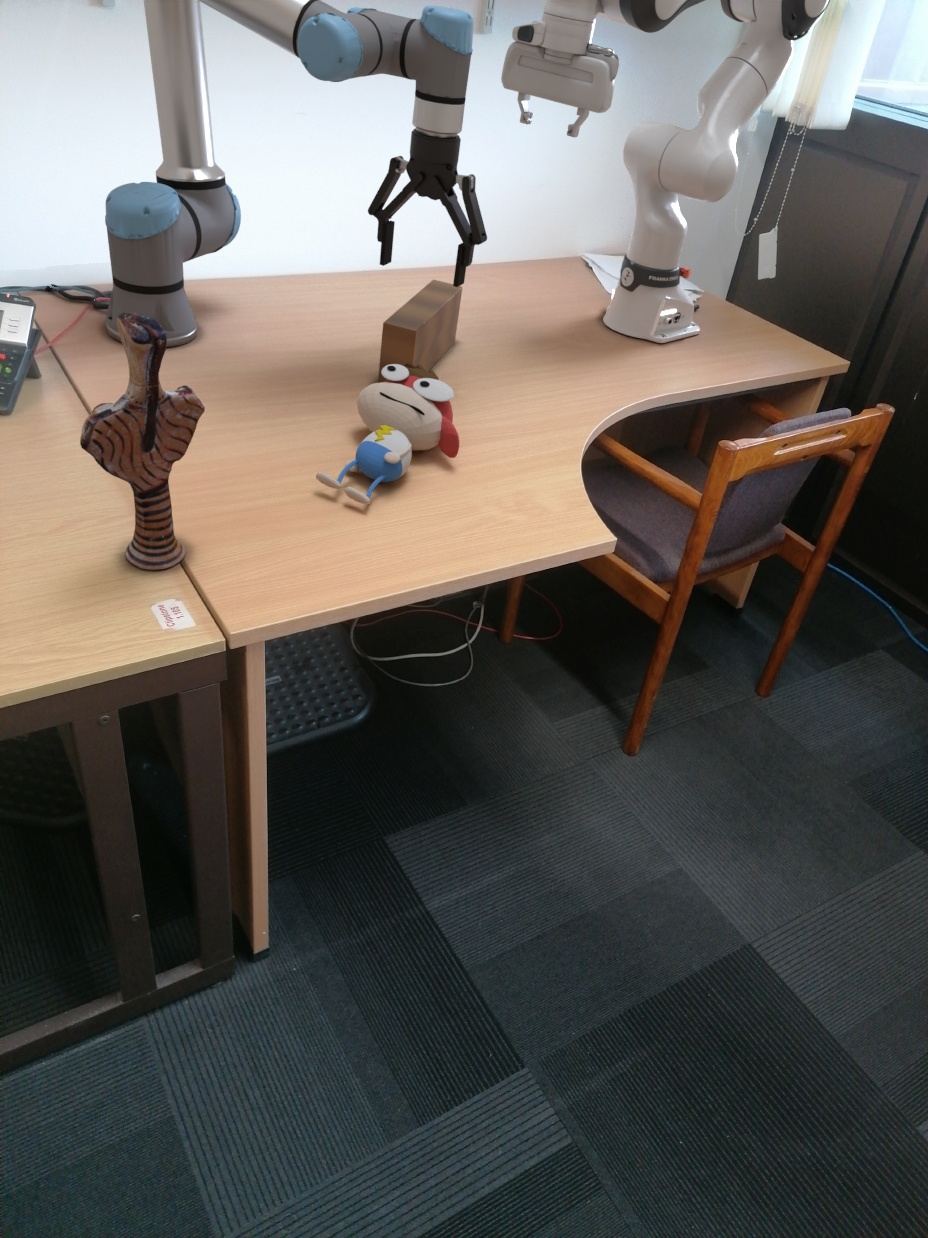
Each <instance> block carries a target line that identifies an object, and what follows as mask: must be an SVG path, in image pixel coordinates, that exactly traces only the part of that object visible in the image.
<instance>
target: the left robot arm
mask: <svg viewBox="0 0 928 1238" xmlns="http://www.w3.org/2000/svg"><path fill="white" fill-rule="evenodd" d="M201 3H202V4H204V5H206V6H208V7H209V8H210V9H213V10H214V11H216V12H218V13H219V14H221V15H224V16H225V17H227V18H228V19H230V20H232V21H234V22H235V23H237V24H239V25H241V26H243V27H244V28H246V29H248V30H249V31H251V32H253V33H254V34H256V35H258V36H260V37H262V38H263V39H265V40H266V41H269V42H270V43H272V44H273V45H276V46H277V47H278V48H280V49H282V50H284V51H286V52H288V53H289V54H291V55H293V56H295V57H296V58H298V59H299V60H300V62H301V64H302V65H303V67H304V68H305V70H306V71H307V73H308V74H309V75H310V76H311V77H313V78H314V79H316V80H318V81H323V82H331V83H340V82H344V81H347V80H351V79H355V78H363V77H369V76H375V75H381V74H382V75H388V76H394V77H398V78H402V79H407V80H410V81H412V80H413V81H415V90H414V104H413V110H412V111H413V113H412V120H411V121H412V122H411V124H412V126H413V127H414V128H413V129H412V130H411V134H410V135H411V136H410V145H409V160H406V159H405V158H404V156H402V155H397V156H394V157H391V158H390V159H389V165H388V170H387V173H386V175H385V177H384V179H383V180H382V183H381V185H380V186H379V188H378V190H377V191H376V194H375V196H374V198H373V199H372V201H371V203H370V205H369V206H368V209H367V213H368V214H369V216H373V217H374V218H376V220H377V235H376V239H377V242H379V243H380V255H379V265H380V266H387V265H388V264H390V263H392V260H393V259H392V258H393V246H394V234H395V224H396V223H395V222H396V221H394V220H391V219H392V218H393V216H394V215H395V214H396V213H397V212H399V210H400V209H401V208H402V207H403V206H404V205H405V204H406V203H407V202H408V201H409V200H410V199H411V198H412V197H413V196H415V194H417V196H418V197H420V198H421V197H422V198H428V199H430V200H433V201H438V200H439V201H440V203H441V205H442V206H443V207H445V210H446V211H447V214H448V216H449V218H450V220H451V222H452V224H453V225H454V227H455V230H456V231H457V233H458V236H459V238H460V240H461V243H460V244H458V245H457V253H456V258H455V259H456V260H455V268H454V274H453V275H454V276H453V283H452V284H453V286H454V287H459V286H462V285H463V284H465V280H466V272H467V271H466V270H467V268H468V267H469V266H471V265H472V263H473V259H474V253H475V246H480V245H481V244H484V243H485V242H486V241H487V240H488V235H487V231H486V227H485V223H484V220H483V216H482V212H481V208H480V204H479V199H478V196H477V193H476V180H477V178H476V175H475V174H473V173H471V174H468V175H464V174H459V172H458V163H459V158H460V157H459V156H460V150H461V149H460V148H461V141H462V140H461V139H462V138H461V137H460V135H459V134H460V133H461V132H462V131H463V123H464V114H465V106H466V97H467V91H468V89H467V88H468V82H469V75H470V67H471V62H472V61H471V60H472V55H473V51H474V49H473V39H474V38H473V37H474V23H475V22H474V18H473V16H472V15H471V13H469V11H468V12H467V11H465V10H462V9H459V8H453V7H446V6H442V5H432V4H431V5H425V6H424V8H422V11H421V17H420V18H410V17H406V16H403V15H402V16H401V15H398V14H393V13H389V12H385V11H382V10H381V11H380V10H378V9H377V8H372V7H371V8H367V7H359V6H355V7H350V8H349V9H348V10H347V12H346V13H345V12H343V11H341V10H339V9H337V8H336V7H334V6H332V5H330V4H329V3H327V2H324V1H323V0H143V5H144V15H145V24H146V31H147V39H148V47H149V55H150V65H151V71H152V72H151V73H152V79H153V87H154V95H155V105H156V112H157V113H156V114H157V121H158V128H159V136H160V144H161V153H162V161H161V164H160V165H159V167H158V168H157V169H156V170H155V179H156V182H154V181H153V182H152V181H140V182H139V183H137V182H128V183H125V184H121V185H119V186H116V187H115V188H113V189H112V190H110V192H109V193H108V194H107V196H106V198H105V215H104V221H105V222H104V224H105V226H106V233H107V241H108V242H107V244H108V250H109V259H110V260H109V261H110V268H111V270H110V271H111V277H112V291H111V295H110V300H109V303H107V304H106V303H98V301H97V299H96V298H95V297H93V296H90V295H74V294H70V293H68V292H66V291H64V290H63V289H62V290H59V291H58V292H57V291H56V290H54V289H53V288H50V287H49V286H48V285H47V286H46V287H45V288H44V291H46V292H50V291H52V290H54V291H56V292H57V293H58V294H59V295H60V296H62V297H63V298H65V299H67V300H69V301H70V300H71V301H74V302H75V301H77V302H90V303H92V307H93V308H94V309H97V310H107V311H106V315H105V326H106V328H105V329H106V332H107V334H108V335H109V336H110V337H111V338H112V339H114V340H116V341H117V342H120V343H122V341H121V338H120V334H119V330H118V326H117V321H116V320H117V317H118V316H119V315H120V314H122V313H125V312H134V313H139V314H142V315H144V316H150V317H152V318H154V319H156V320H157V321H158V322H160V324H161V326H162V327H163V328H164V330H165V333H166V337H167V343H166V348H171V347H177V346H182V345H184V344H187V343H189V342H191V341H193V340H194V339H195V338H196V337H197V335H198V324H197V320H196V317H195V315H194V311H193V309H192V306H191V304H190V300H189V298H188V296H187V293H186V290H185V278H184V263H186V262H189V261H191V260H194V259H197V258H200V257H203V256H205V255H209V254H214V253H217V252H218V251H220V250H222V249H223V248H225V247H227V246H228V245H229V244H231V243H232V242H233V241H234V240H235V238H236V237H237V235H238V233H239V231H240V227H241V220H242V213H241V212H242V211H241V205H240V201H239V199H238V197H237V195H236V194H235V193H233V188H231V186H230V185H229V184H228V183H227V181H226V173H225V172H224V170H223V169H222V168H221V167H219V165H218V164H217V163H216V159H215V148H214V139H213V138H214V137H213V126H212V116H211V104H210V95H209V82H208V73H207V72H208V71H207V61H206V49H205V37H204V27H203V17H202V4H201ZM405 171H406V174H407V176H408V178H409V180H410V181H408V183H406V185H405V186H404V187H403V188H402V190H401V191H400V192H398V194H397V195H396V196H395V197H394V198H393V199H392V200H391V201H390V202H389V203H388V204H387V205H386V203H387V201H388V200H389V198H390V196H391V194H392V192H393V190H394V188H395V186H396V185H397V183H398V182H399V179H400V178H401V176H402V174H404V173H405ZM456 184H457V185H458V189H459V190H460V191H461V195H462V200H463V204H464V208H465V212H466V215H465V213H464V211H463V209H462V207H461V204H460V203H459V200H458V195H457V194H456V191H455V189H454V187H455V186H456ZM385 205H386V206H385ZM384 207H385V208H384ZM50 284H51V285H52V286H54V287H59V286H58V285H57V284H55V283H50ZM94 299H95V301H94Z"/></svg>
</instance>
